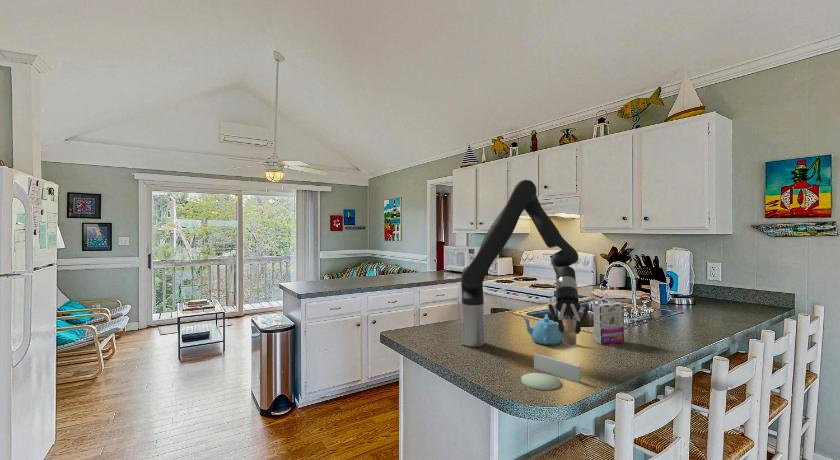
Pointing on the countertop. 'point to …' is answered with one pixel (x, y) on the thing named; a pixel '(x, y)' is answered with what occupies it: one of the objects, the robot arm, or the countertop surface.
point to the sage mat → (541, 381)
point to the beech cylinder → (569, 331)
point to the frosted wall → (557, 367)
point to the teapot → (544, 331)
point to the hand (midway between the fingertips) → (569, 332)
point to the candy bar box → (608, 323)
